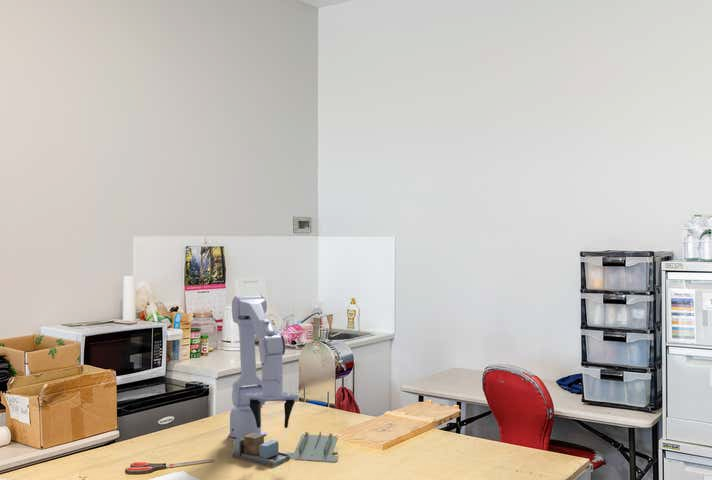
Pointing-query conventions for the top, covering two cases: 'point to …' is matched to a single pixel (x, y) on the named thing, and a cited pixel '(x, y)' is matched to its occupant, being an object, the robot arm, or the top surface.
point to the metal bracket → (315, 448)
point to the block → (253, 443)
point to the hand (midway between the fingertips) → (272, 426)
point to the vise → (272, 461)
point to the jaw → (269, 449)
